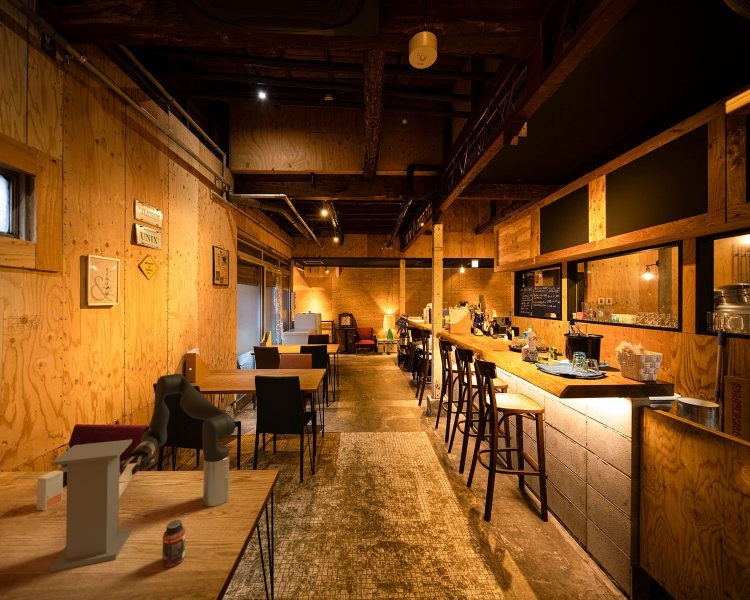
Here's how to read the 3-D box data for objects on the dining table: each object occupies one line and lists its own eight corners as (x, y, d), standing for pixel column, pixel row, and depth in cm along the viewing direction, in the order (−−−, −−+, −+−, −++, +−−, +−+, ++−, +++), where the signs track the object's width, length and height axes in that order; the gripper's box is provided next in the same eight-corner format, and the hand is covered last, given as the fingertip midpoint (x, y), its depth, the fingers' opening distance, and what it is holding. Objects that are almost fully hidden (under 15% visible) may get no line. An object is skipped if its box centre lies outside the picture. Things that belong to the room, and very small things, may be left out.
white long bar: (136, 468, 136) (136, 462, 136) (111, 511, 113) (111, 503, 113) (128, 469, 135) (128, 463, 135) (100, 512, 112) (100, 505, 112)
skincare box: (44, 511, 124) (45, 479, 124) (36, 509, 124) (36, 477, 124) (63, 501, 130) (63, 471, 130) (54, 500, 130) (55, 469, 130)
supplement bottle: (189, 556, 103) (190, 519, 103) (172, 570, 97) (173, 532, 97) (175, 551, 105) (175, 515, 105) (157, 565, 99) (158, 527, 99)
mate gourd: (69, 488, 139) (69, 452, 139) (50, 487, 139) (51, 452, 139) (85, 478, 146) (85, 444, 146) (67, 478, 146) (68, 444, 146)
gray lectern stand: (130, 533, 113) (132, 439, 113) (115, 559, 101) (117, 454, 101) (72, 543, 107) (74, 445, 108) (49, 572, 96) (51, 462, 96)
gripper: (124, 446, 144) (106, 466, 128) (161, 443, 149) (148, 461, 132) (123, 464, 144) (105, 485, 128) (160, 459, 149) (147, 479, 132)
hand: (127, 472), depth 130 cm, fingers closed on white long bar, 3 cm apart
